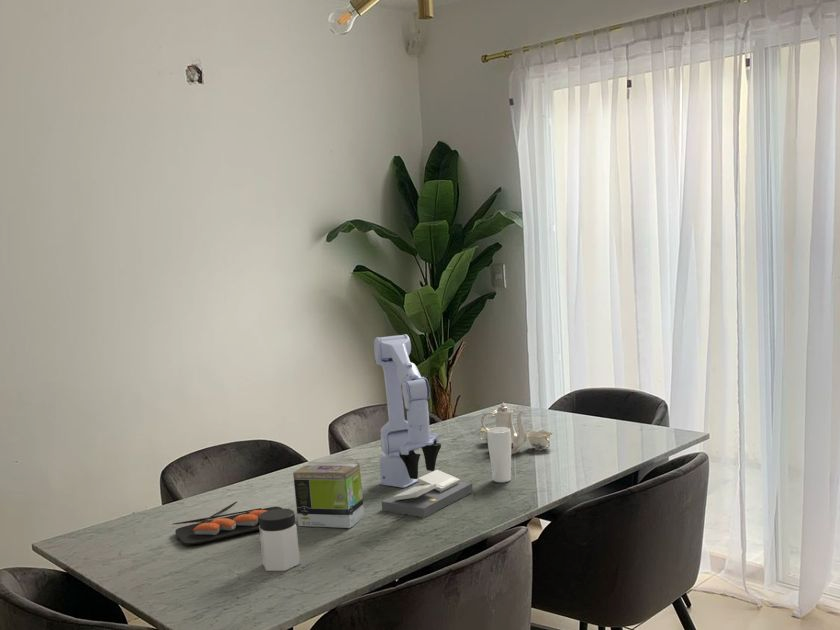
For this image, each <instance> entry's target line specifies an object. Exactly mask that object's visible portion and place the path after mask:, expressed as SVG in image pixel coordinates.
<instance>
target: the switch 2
mask: <svg viewBox="0 0 840 630" xmlns="http://www.w3.org/2000/svg"><path fill="white" fill-rule="evenodd" d="M417 479H418V482H417V483H422V484H424V485H430V484H436V485H437V488H435V489H436V490H438V491H440V492H442V491H444V490H446V489H448V488H450V487H452V486H454V485H456V484H458V483H460V482H461V479H460V478H457V477H455V476H453V475H451V474H448V473H446V472H444V471H441V470H440V469H435V470H434V471H430V472H429V473H426V474H424V475H422V476H420V477H418V478H417Z"/></svg>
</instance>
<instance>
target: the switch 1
mask: <svg viewBox="0 0 840 630" xmlns="http://www.w3.org/2000/svg"><path fill="white" fill-rule="evenodd" d="M412 487H413V486H412ZM410 488H411V487H410ZM435 488H437V485H436V484H430V485H424V486H417V487H413V488H411V489H409V490H406V489H405V490H406V491H404V490H403V491H404V492H402V491H401V492H402V493H400V492H399V493H400V494H398V493H397V494H398V495H396V494H395V495H396V496H394V495H393V496H394V500H400V499H408V498H415V497H418V496H420V495H422V494H424V493H426V492H428V491H430V490H432V489H435Z"/></svg>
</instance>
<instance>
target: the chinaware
mask: <svg viewBox="0 0 840 630" xmlns="http://www.w3.org/2000/svg"><path fill="white" fill-rule="evenodd" d="M513 413H514V410H513V409H512V408H509V407H508V406H506V404H505V403H504V402H502V403H501V404H500V406H499V407H498V408H497V409H494V410H493V411H492V412H485V413H483V415H482V416H481V426H482V427H481V428H480V431H478V434H477V435H478V438H479V439H480V440H482V441H483V440H486V441H485V442H486V443H488V436H487V431H488V429H490V428H495V427H507V428H509V429H510V431H511V455H514V454H517V453H519V452H520V450H519V449H520V448H521V447H522V446H523V445H524V444H525V443H526V441H528V443H529V444H530V446H531V447H533V448H534V450H535V451H543V450H546V449H549V448H551V447H550V446H551V442H550V441H551V436H552V435H553V432H552V431H548V430H546V429H545V430H544V429H543V430H537V431H535V430H530V431H528V432H527V430H526V429H525V425H524V423H523V419H522V415H523V413H524V412H523V411H519V413H517V415H516V423H517V425H516V426H517V429H518V430H517V431H516V429H515V427H514V423H513ZM487 415H491V416H490V418H491V419H495V425H489V426H486V425H485V423H484V421H485V419H484V418H485V417H486V416H487ZM517 432H518V433H517ZM480 433H482V434H483V437H484V438H482V437H481V436H480Z"/></svg>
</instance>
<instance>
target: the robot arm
mask: <svg viewBox="0 0 840 630" xmlns="http://www.w3.org/2000/svg"><path fill="white" fill-rule="evenodd" d="M373 341H374V342H373V350H374V359H375V363H376V365H379V366H381V367H382V371H383V378H384V388H385V389H384V390H385V396H386V405H387V406H386V407H387V415H388V421H387V422H386V423H385V424H384V425H383V426H382V427H381V428H380V448H381V451H382V455H381V456H380V460H379V471H380V481H379V485H382V486H389V487H390V486H391V487H396V488H402V489H405V488H407V487H409V486H412V485H413V484H416V483H419V482H418V478H419V462H420V457H421V454H420V453H416V452H415V451H418V450H419V449H421V451H422V454H423V457H424V463H425V464H424V465H425V468H426V471H427V472H428V471H430V472H433V471H435V470H436V464H437V459H438V454H439V453H440V450H441V448H442V443H440V442H439V441H440V436H439V434H437V433H432V434H431V430H430V428H431V427H430V417H429V416H430V413H429V402H428V400H429V399H430V397H431V389H430V384H429V380H428V379H427V377H425V376H421V375H422V374H421V373H420V371H419V369H418V367H417V365H416V364H415V363H413V362H411V360H410V357H409V356H410V354H411V351H412V344H411V343H412V342H411V339H410V337H409V335H408V334H406V333H405V334H401V335H400V334H399V335H389V336H382V337H379V336H377V337H375V339H374V340H373ZM403 400H404V401H403ZM404 408H405V409H406V419H405V411H404Z"/></svg>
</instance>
